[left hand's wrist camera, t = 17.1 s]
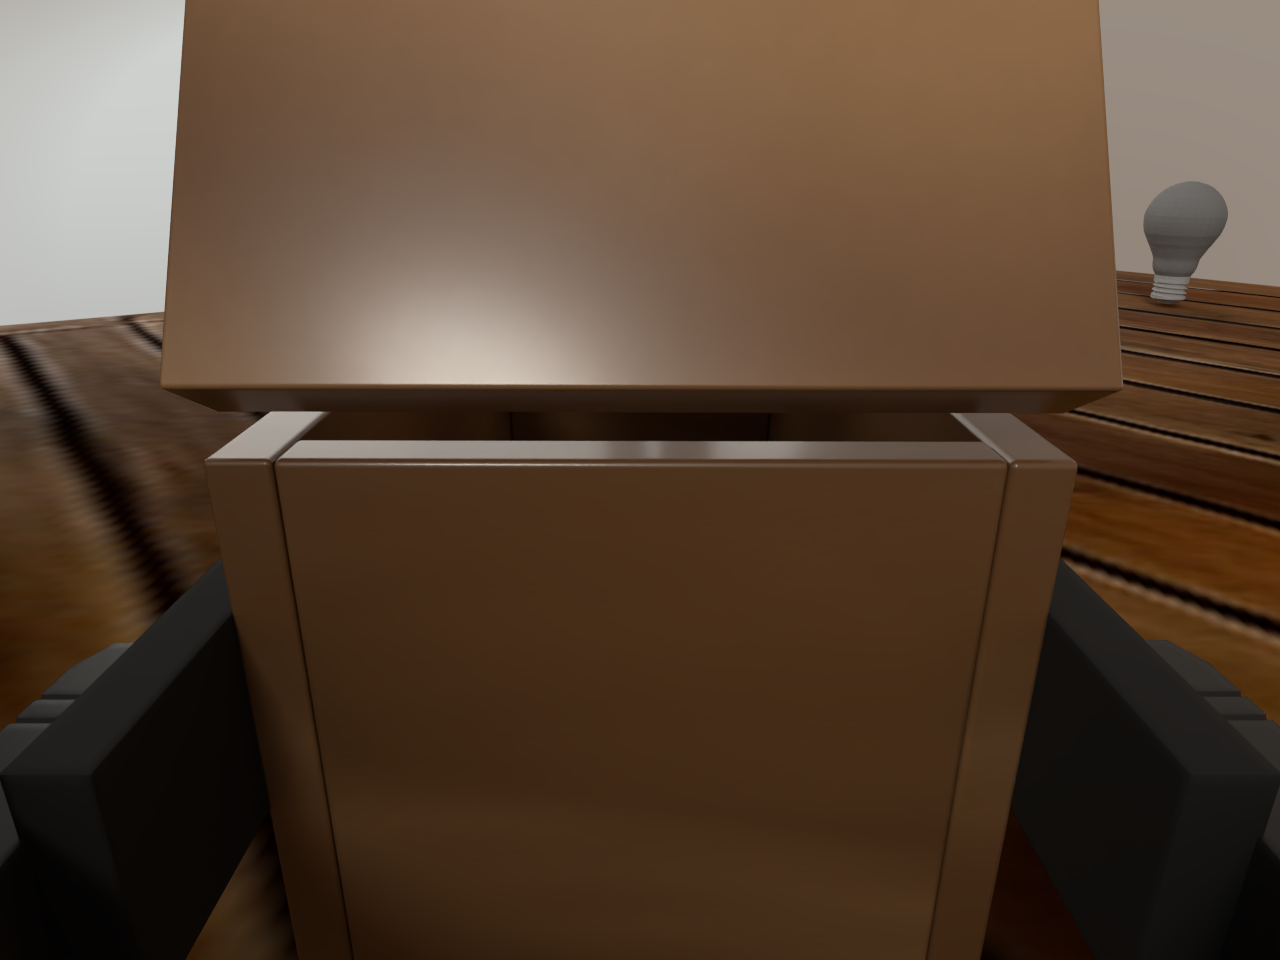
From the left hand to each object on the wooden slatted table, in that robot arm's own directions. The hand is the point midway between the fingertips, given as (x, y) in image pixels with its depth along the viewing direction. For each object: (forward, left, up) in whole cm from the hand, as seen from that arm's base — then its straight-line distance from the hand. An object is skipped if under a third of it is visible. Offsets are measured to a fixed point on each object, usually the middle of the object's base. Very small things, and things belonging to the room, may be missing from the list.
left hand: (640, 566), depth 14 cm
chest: (-4, +3, -6) cm, 8 cm away
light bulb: (-20, +76, -7) cm, 79 cm away
